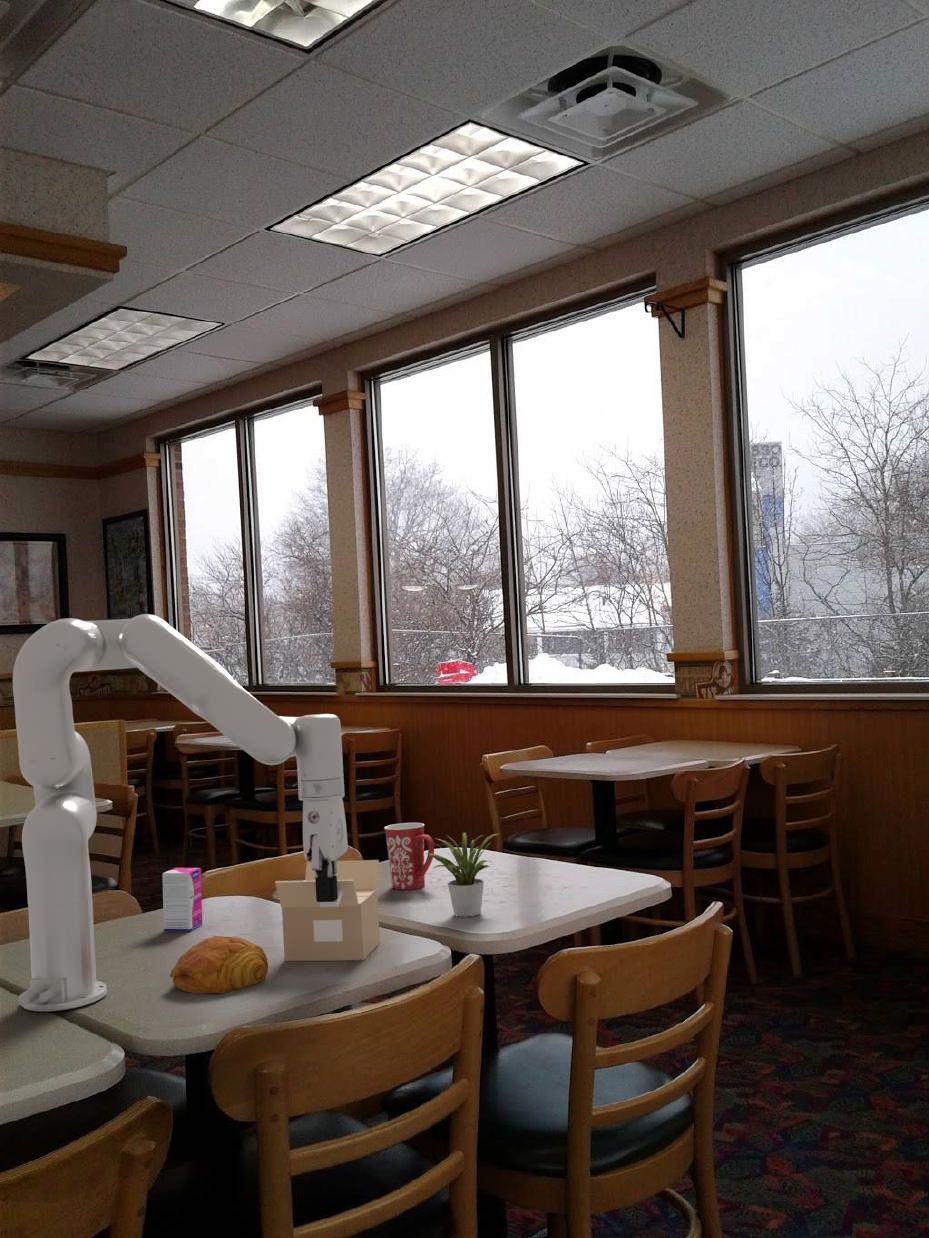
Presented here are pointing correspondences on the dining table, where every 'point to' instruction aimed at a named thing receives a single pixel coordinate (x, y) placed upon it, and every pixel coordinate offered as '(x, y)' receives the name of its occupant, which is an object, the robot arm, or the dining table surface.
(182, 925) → the supplement box
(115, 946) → the dining table surface
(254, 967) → the croissant
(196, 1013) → the dining table surface
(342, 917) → the carton
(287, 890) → the flap near
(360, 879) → the flap far
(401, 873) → the mug
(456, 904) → the house plant
